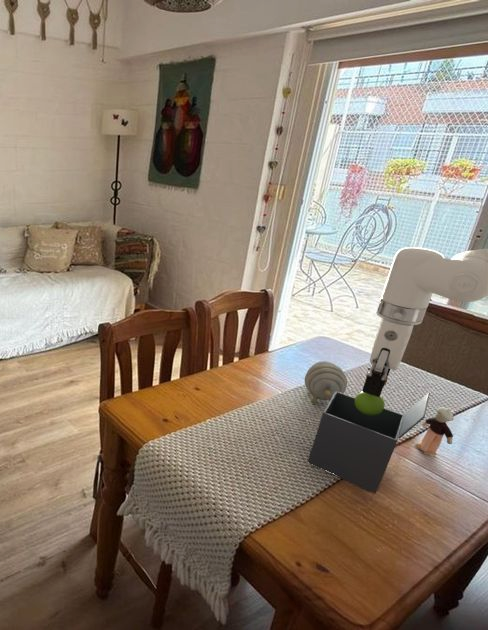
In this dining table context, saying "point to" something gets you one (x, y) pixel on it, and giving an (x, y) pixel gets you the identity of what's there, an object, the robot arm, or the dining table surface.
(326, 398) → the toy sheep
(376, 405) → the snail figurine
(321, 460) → the carton
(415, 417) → the flap
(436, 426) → the grandmother figurine
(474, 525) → the dining table surface
